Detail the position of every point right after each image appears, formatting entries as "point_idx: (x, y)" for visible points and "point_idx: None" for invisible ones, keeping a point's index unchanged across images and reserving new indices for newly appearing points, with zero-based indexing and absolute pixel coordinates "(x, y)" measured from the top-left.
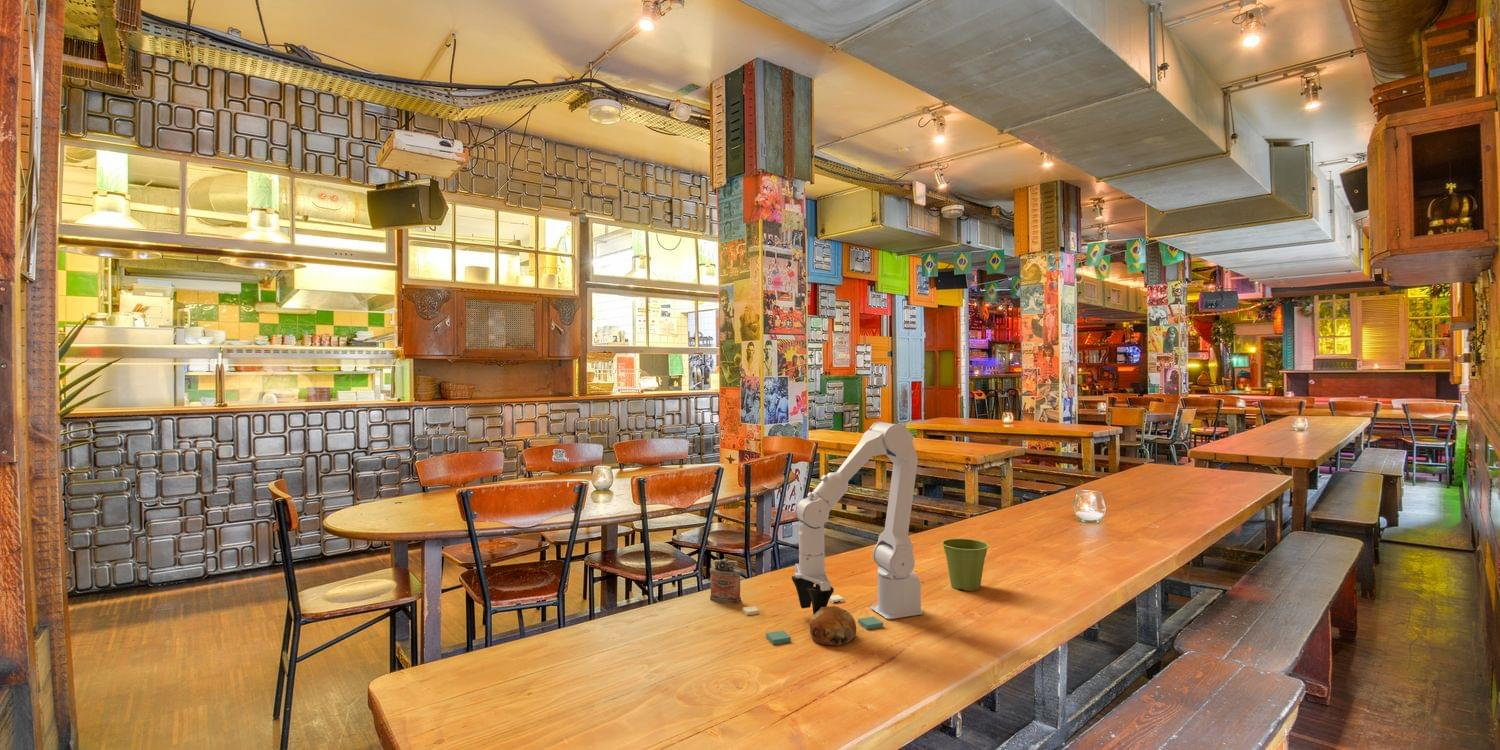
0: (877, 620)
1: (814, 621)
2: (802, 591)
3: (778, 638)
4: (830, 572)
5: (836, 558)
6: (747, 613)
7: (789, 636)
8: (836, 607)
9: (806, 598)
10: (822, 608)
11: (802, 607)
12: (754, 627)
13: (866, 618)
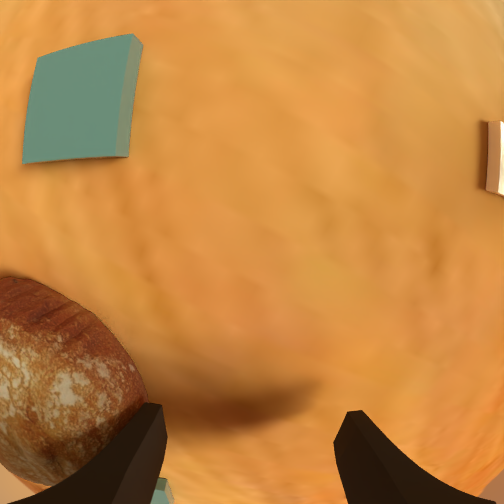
0: None
1: None
2: (380, 496)
3: (35, 89)
4: (484, 469)
5: (499, 471)
6: (494, 125)
7: (29, 159)
8: (4, 466)
9: (355, 471)
10: (18, 442)
11: (347, 417)
12: (331, 46)
13: (161, 499)
